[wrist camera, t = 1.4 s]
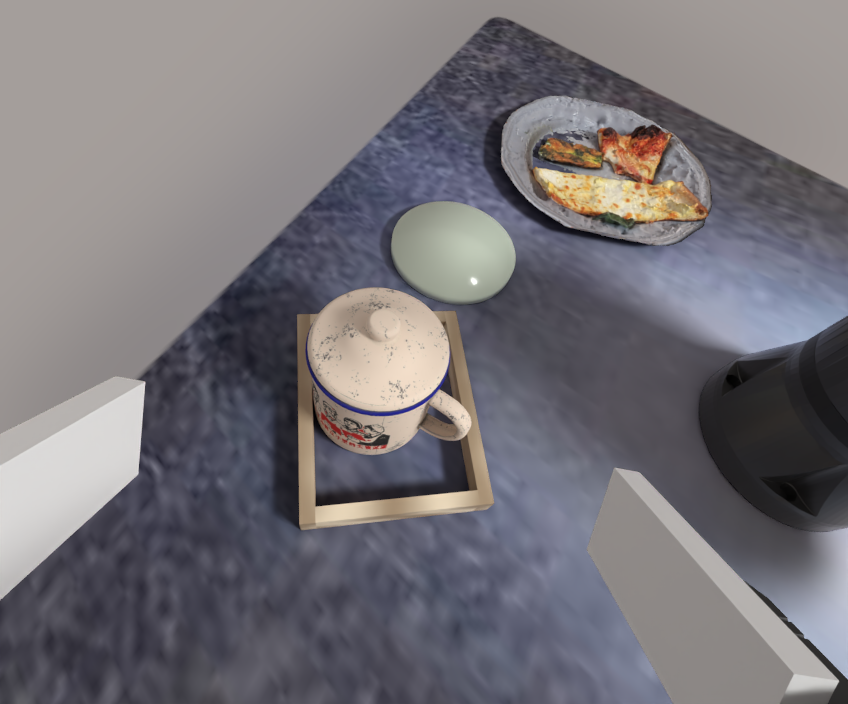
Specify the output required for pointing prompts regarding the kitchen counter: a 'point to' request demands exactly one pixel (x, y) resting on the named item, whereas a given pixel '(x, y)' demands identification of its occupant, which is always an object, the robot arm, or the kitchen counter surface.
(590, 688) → the kitchen counter surface
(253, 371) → the kitchen counter surface
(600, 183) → the food plate
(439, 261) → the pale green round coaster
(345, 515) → the wooden frame
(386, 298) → the teacup with lid
